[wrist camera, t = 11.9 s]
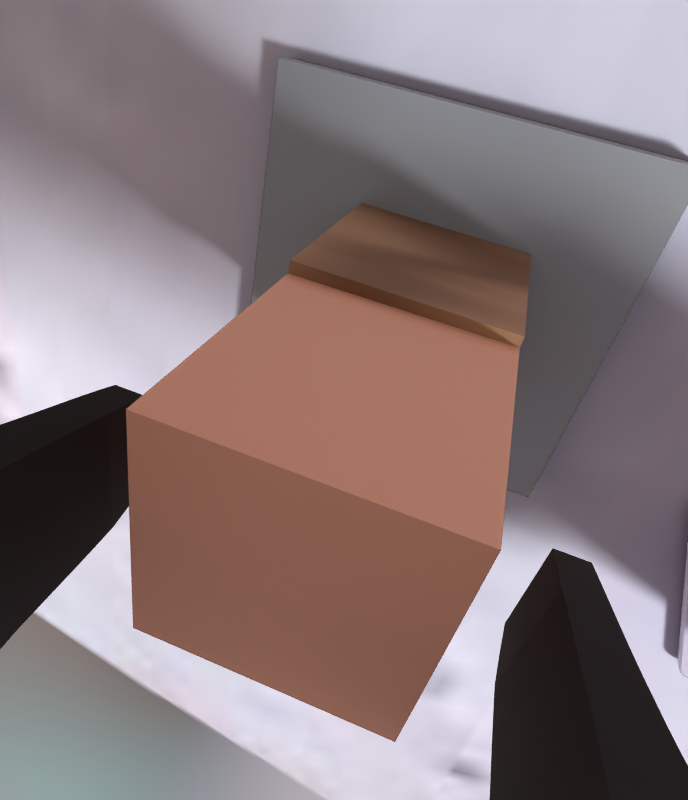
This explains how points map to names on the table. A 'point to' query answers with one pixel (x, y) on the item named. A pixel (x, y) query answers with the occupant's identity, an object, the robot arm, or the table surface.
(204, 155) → the table surface
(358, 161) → the baseplate
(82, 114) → the table surface
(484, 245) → the walnut block
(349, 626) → the terracotta block
